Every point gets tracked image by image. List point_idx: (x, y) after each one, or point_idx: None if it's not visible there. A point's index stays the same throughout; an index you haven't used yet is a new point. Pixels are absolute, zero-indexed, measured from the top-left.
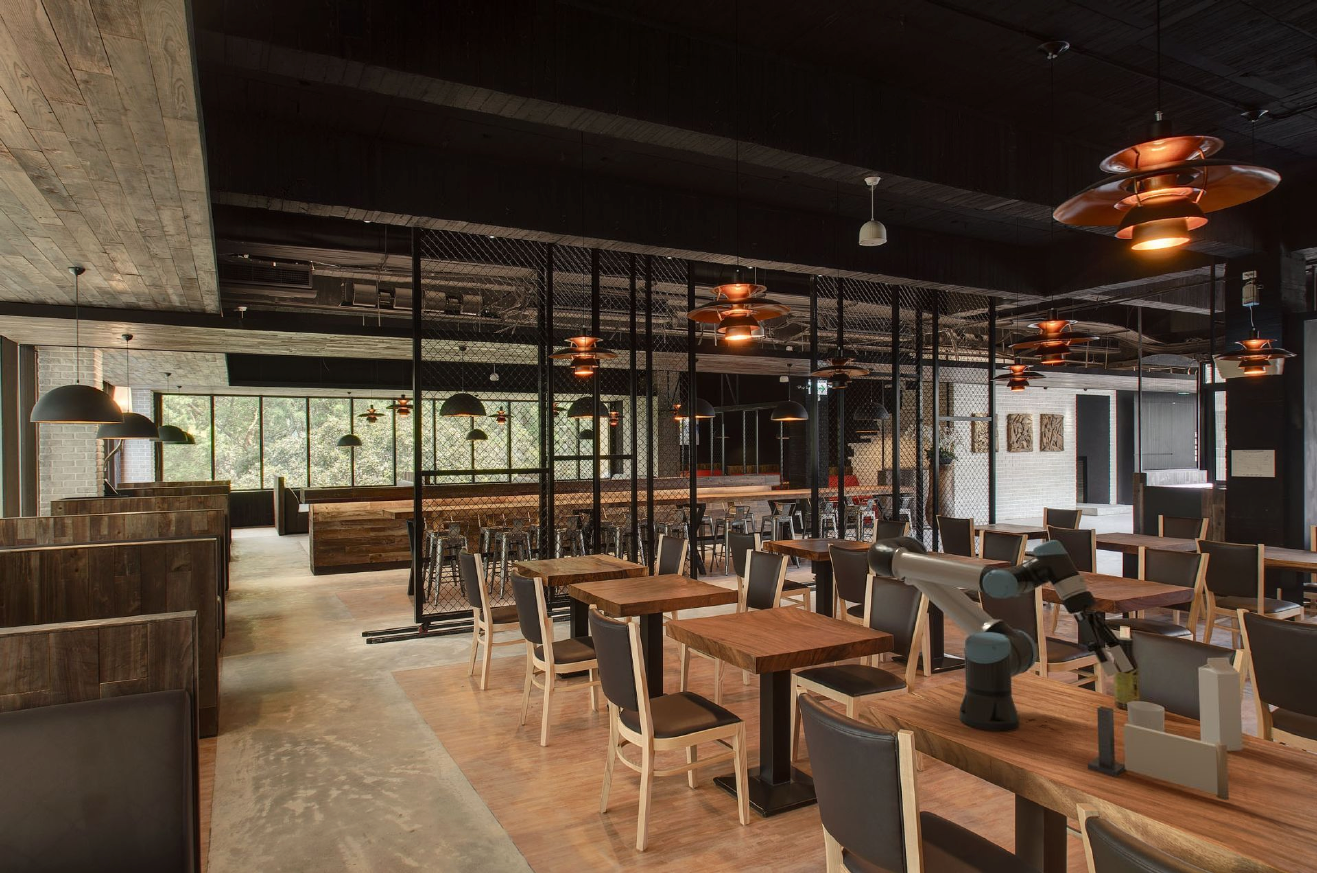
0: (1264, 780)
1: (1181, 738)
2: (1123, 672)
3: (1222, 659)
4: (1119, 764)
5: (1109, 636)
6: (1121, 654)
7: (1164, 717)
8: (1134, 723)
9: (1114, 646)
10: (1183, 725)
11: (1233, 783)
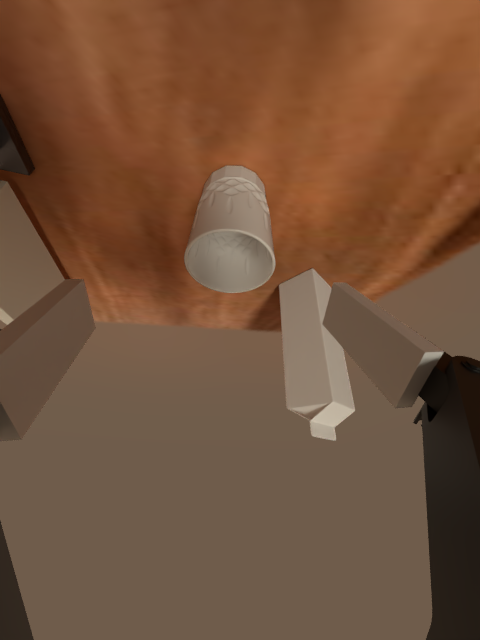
0: (193, 308)
1: (3, 321)
2: (333, 287)
3: (328, 435)
4: (12, 161)
5: (430, 474)
6: (365, 359)
7: (232, 277)
8: (196, 214)
9: (427, 385)
10: (417, 248)
11: (152, 290)
